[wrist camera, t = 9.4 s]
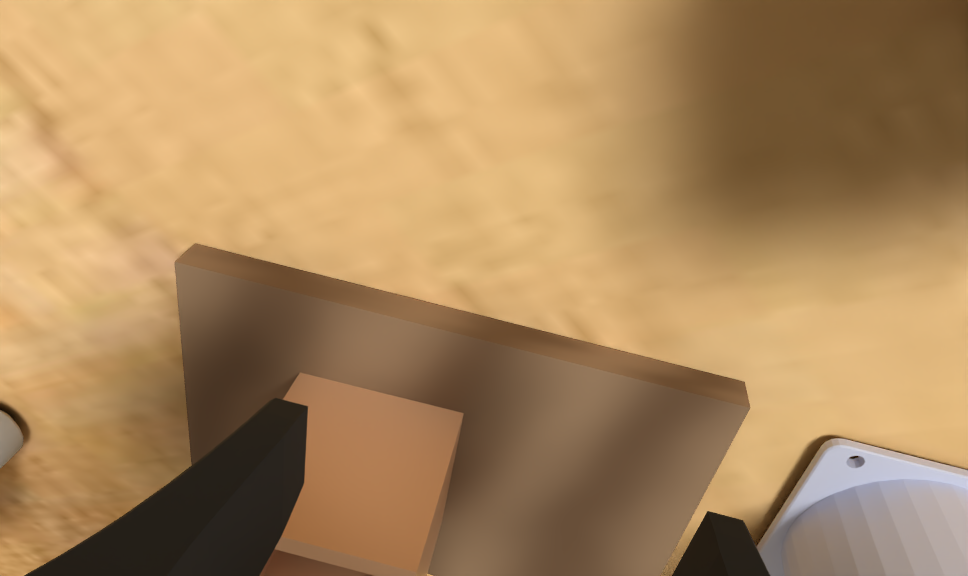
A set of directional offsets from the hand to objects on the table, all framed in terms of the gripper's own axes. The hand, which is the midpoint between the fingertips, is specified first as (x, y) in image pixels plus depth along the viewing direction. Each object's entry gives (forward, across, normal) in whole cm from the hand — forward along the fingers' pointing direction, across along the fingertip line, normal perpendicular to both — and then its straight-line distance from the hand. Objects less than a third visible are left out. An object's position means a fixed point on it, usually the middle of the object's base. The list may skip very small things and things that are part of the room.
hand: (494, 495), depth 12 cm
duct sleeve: (+8, +4, +9) cm, 13 cm away
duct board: (+9, +2, +9) cm, 13 cm away
